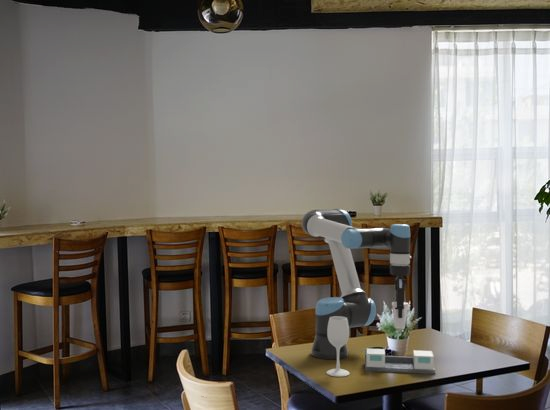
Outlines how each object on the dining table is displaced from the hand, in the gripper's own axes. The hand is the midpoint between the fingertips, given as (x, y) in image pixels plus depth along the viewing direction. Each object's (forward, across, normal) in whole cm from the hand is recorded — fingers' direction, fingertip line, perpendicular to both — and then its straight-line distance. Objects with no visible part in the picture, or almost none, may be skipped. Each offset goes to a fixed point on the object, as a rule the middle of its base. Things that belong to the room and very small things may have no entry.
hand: (399, 324), depth 244 cm
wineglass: (+18, -10, +23) cm, 31 cm away
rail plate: (+17, 0, 0) cm, 17 cm away
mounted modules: (+16, -1, 0) cm, 16 cm away
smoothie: (+2, 0, 0) cm, 2 cm away
